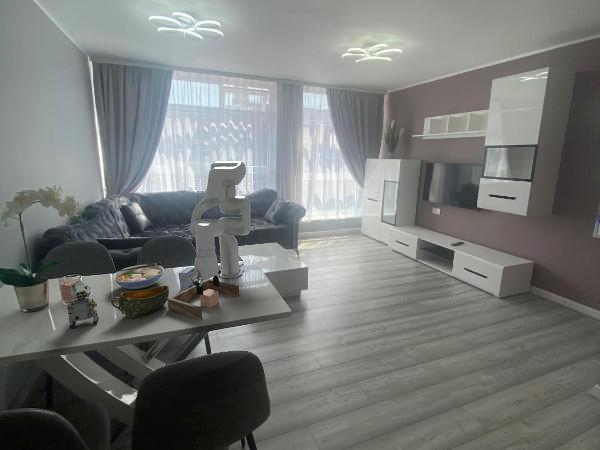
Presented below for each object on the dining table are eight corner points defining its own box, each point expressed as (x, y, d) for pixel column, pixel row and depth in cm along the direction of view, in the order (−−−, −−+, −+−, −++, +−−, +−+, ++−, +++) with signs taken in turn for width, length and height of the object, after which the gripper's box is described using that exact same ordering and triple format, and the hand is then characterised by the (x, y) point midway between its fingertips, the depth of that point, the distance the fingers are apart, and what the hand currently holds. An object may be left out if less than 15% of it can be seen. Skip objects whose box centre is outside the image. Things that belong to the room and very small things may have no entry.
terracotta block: (209, 300, 143) (208, 288, 142) (219, 302, 140) (218, 291, 139) (200, 305, 138) (199, 293, 137) (210, 308, 136) (209, 296, 134)
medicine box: (188, 290, 153) (186, 273, 151) (179, 289, 154) (178, 272, 152) (196, 283, 161) (195, 267, 159) (188, 282, 162) (187, 266, 160)
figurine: (101, 312, 132) (96, 278, 128) (96, 326, 121) (90, 290, 118) (75, 317, 128) (69, 282, 125) (67, 331, 118) (60, 294, 115)
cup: (120, 307, 136) (117, 285, 134) (170, 301, 142) (168, 280, 139) (112, 323, 124) (109, 299, 122) (168, 316, 130) (166, 293, 127)
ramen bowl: (111, 301, 142) (109, 284, 140) (111, 283, 161) (109, 268, 159) (171, 289, 154) (169, 273, 152) (164, 274, 173) (162, 259, 171)
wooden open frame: (209, 288, 155) (208, 278, 154) (239, 295, 147) (238, 285, 146) (168, 309, 134) (167, 298, 133) (200, 320, 126) (199, 308, 125)
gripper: (213, 246, 143) (215, 282, 146) (183, 256, 128) (186, 296, 131) (226, 248, 140) (228, 285, 143) (197, 258, 125) (200, 299, 128)
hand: (208, 290), depth 137 cm, fingers open, 9 cm apart
